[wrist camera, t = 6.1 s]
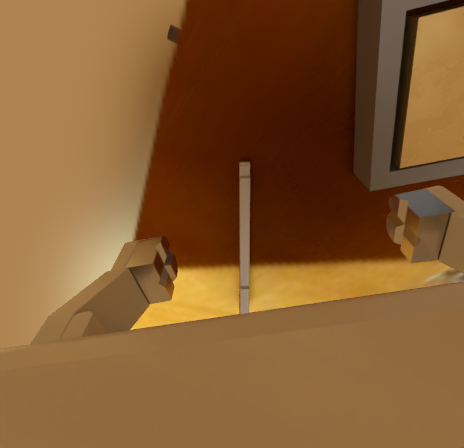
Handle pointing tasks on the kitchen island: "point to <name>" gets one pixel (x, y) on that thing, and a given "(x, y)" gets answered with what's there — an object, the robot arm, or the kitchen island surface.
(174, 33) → the cell
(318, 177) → the kitchen island surface
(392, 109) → the square frame
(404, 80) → the button
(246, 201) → the caliper
